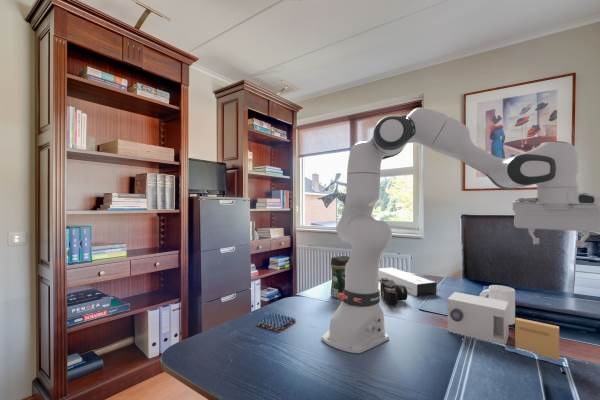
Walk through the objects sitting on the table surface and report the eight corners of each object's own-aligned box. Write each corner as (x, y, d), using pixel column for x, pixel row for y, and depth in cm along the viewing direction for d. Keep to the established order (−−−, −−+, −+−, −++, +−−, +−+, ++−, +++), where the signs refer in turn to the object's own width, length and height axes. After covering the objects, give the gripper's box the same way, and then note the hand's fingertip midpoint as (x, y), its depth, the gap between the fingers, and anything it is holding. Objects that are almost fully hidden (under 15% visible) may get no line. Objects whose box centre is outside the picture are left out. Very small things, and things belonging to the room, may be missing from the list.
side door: (559, 362, 78) (559, 329, 78) (515, 351, 84) (515, 319, 84) (559, 359, 80) (558, 326, 80) (515, 348, 86) (515, 317, 86)
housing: (504, 348, 87) (504, 311, 87) (446, 333, 97) (446, 300, 97) (508, 335, 96) (508, 301, 96) (454, 322, 106) (454, 291, 106)
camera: (411, 308, 120) (412, 284, 120) (386, 308, 121) (386, 283, 121) (400, 296, 136) (400, 274, 136) (378, 295, 136) (378, 274, 136)
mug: (485, 311, 117) (485, 281, 117) (519, 322, 106) (519, 289, 106) (473, 315, 113) (473, 284, 113) (507, 326, 102) (507, 292, 102)
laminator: (436, 295, 138) (436, 282, 138) (415, 298, 134) (415, 284, 134) (391, 277, 170) (391, 267, 170) (373, 279, 166) (373, 268, 166)
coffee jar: (344, 292, 141) (344, 254, 141) (355, 297, 134) (355, 256, 134) (327, 295, 136) (327, 255, 136) (338, 300, 129) (338, 258, 129)
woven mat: (279, 334, 97) (280, 328, 97) (256, 326, 103) (256, 320, 103) (297, 323, 106) (297, 317, 106) (274, 317, 112) (274, 311, 112)
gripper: (511, 197, 89) (511, 243, 89) (608, 197, 76) (609, 250, 75) (513, 198, 94) (513, 241, 93) (605, 197, 80) (605, 248, 80)
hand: (557, 245), depth 84 cm, fingers open, 8 cm apart
